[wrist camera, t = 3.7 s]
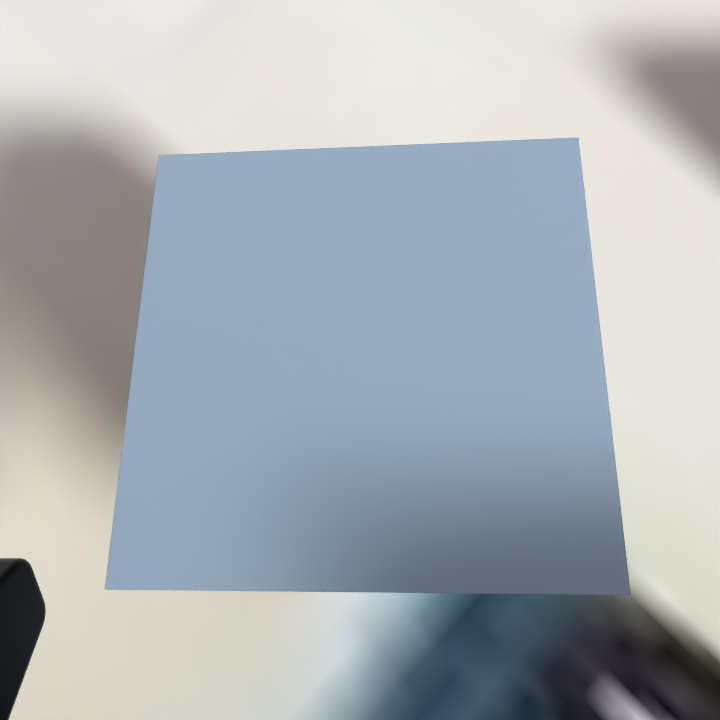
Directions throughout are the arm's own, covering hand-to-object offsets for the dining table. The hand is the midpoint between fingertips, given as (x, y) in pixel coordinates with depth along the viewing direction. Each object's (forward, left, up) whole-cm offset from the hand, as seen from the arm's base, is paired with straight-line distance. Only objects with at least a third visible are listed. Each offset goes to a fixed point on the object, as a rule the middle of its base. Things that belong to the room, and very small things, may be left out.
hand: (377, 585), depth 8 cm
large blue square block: (+2, +1, -10) cm, 10 cm away
